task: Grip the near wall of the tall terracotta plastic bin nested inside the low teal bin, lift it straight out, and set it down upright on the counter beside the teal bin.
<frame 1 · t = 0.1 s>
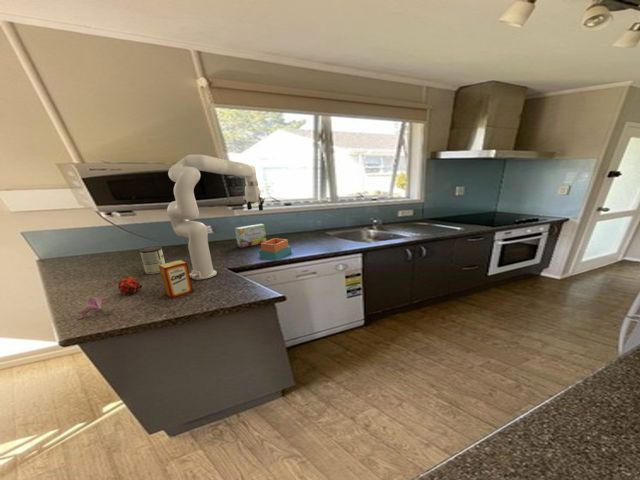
hand: (255, 209, 194), 31 cm above the countertop, tool pointing down, fingers open, 9 cm apart
coffee can: (156, 271, 170), on the countertop
dragon fruit: (131, 292, 143), on the countertop
upper bin: (276, 255, 199), point 1 cm above the countertop, touching lower bin
snack box: (252, 244, 225), on the countertop
baking soda box: (179, 293, 143), on the countertop
lower bin: (276, 256, 199), on the countertop
lily: (98, 314, 122), on the countertop
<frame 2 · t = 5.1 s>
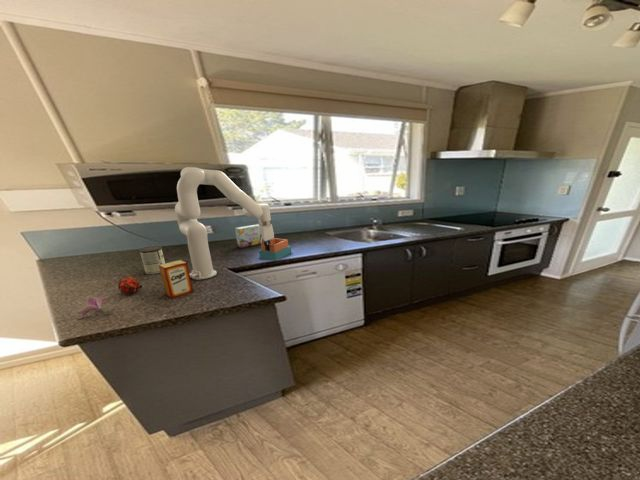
hand: (268, 250, 191), 6 cm above the countertop, tool pointing down, fingers closed on upper bin
upper bin: (276, 255, 199), point 1 cm above the countertop, touching gripper, lower bin
everything else where it was.
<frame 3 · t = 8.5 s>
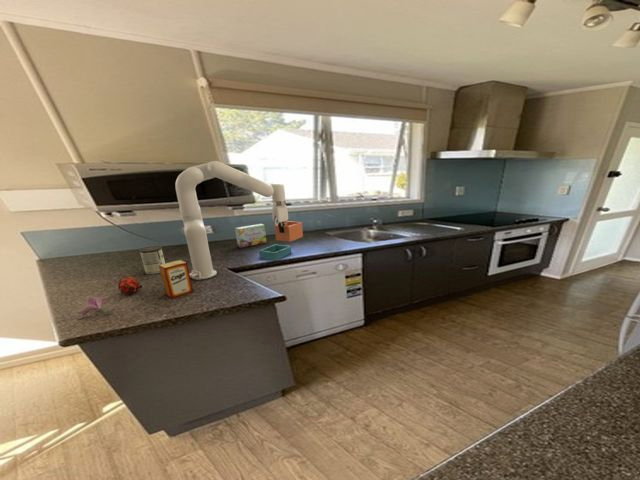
hand: (282, 232, 183), 20 cm above the countertop, tool pointing down, fingers closed on upper bin
upper bin: (289, 238, 190), point 14 cm above the countertop, touching gripper
everything else where it was.
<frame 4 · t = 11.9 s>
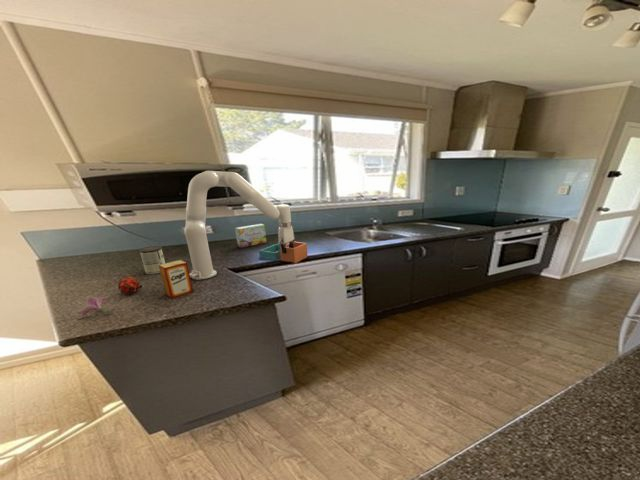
hand: (288, 251, 186), 7 cm above the countertop, tool pointing down, fingers open, 6 cm apart
upper bin: (294, 259, 193), on the countertop
everything else where it was.
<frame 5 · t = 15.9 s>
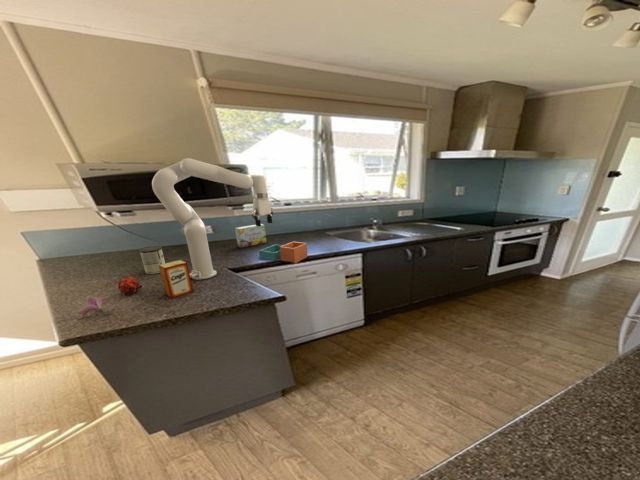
hand: (264, 224, 174), 26 cm above the countertop, tool pointing down, fingers open, 9 cm apart
nothing on the countertop moved.
at the end: upper bin inside the target area (0.5 cm from its centre), on the countertop; upper bin touching countertop; upper bin tilted 0° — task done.
